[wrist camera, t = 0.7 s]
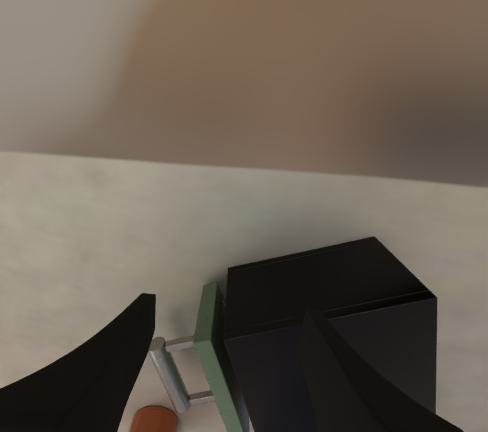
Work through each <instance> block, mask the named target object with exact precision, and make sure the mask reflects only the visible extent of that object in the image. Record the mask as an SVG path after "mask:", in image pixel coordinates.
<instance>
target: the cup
mask: <svg viewBox="0 0 488 432" xmlns="http://www.w3.org/2000/svg"><path fill="white" fill-rule="evenodd" d="M177 427H178V419H177V417H176V415H175V414H174V413H173V412H172V411H170V410H169V409H167V408H164V407H160V406H148V407H145V408H142V409H140V410H139V411H138V412H137V413H136V414H135V415H134V418H133V421H132V423H131V426H130V429H129V432H177Z"/></svg>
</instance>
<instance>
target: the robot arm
mask: <svg viewBox="0 0 488 432" xmlns="http://www.w3.org/2000/svg"><path fill="white" fill-rule="evenodd" d="M155 304H156V294H146V293H142V294H141V295H140V296H139V297H138V298H136V299H135V300H134V301H133V302H132V303H131V304H130V305H129V306H128V307H127V308H126V309H125V310H124V311H123V312H122V313H121V314H119V315H118V316H117V317H116V318H115V319H114V320H113V321H112V322H110V323H109V324H108V325H107V326H106V327H104V328H103V329H102V330H101V331H99V332H98V333H97V334H96V335H94V336H93V337H92V338H90V339H89V340H88V341H86V342H85V343H83V344H82V345H80V346H79V347H78V348H76V349H75V350H73V351H72V352H70V353H68V354H67V355H65V356H63V357H62V358H60V359H58V360H57V361H55V362H53V363H51V364H50V365H48V366H46V367H44V368H42V369H40V370H39V371H37V372H35V373H33V374H31V375H29V376H27V377H25V378H23V379H21V380H19V381H16V382H14V383H12V384H10V385H7V386H5V387H3V388H1V389H0V432H117V430H118V427H119V424H120V421H121V418H122V415H123V412H124V409H125V406H126V404H127V401H128V398H129V396H130V393H131V391H132V389H133V386H134V384H135V382H136V379H137V377H138V375H139V372H140V370H141V368H142V365H143V363H144V360H145V358H146V356H147V353H148V351H149V348H150V344H151V341H152V338H153V334H154V331H155ZM298 343H299V351H300V358H301V363H302V367H303V371H304V375H305V379H306V382H307V386H308V390H309V393H310V397H311V400H312V404H313V408H314V411H315V416H316V420H317V425H318V431H319V432H463V430H461V429H460V428H458V427H456V426H454V425H453V424H451V423H449V422H448V421H446V420H444V419H443V418H441V417H439V416H438V415H436V414H434V413H433V412H431V411H430V410H428V409H427V408H425V407H424V406H422V405H421V404H419V403H418V402H416V401H415V400H413V399H412V398H410V397H409V396H408V395H406V394H405V393H403V392H402V391H401V390H400V389H398V388H397V387H396V386H394V385H393V384H392V383H390V382H389V381H388V380H387V379H385V378H384V377H383V376H382V375H381V374H380V373H378V372H377V371H376V370H375V369H374V368H373V367H372V366H370V365H369V364H368V363H367V362H366V361H365V360H364V359H363V358H362V357H361V356H360V355H359V354H358V353H357V352H356V351H355V350H354V349H353V348H352V347H351V346H350V345H349V344H348V343H347V341H346V340H345V339H344V338H343V337H342V336H341V335H340V334H339V333H338V331H337V330H336V329H335V328H334V327H333V326H332V324H331V323H330V322H329V321H328V320H327V319H326V317H325V316H324V315H323V314H322V313H321V312H320V311H319V310H314V309H306V313H305V317H304V321H303V325H302V329H301V333H300V337H299V341H298Z"/></svg>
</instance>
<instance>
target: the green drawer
mask: <svg viewBox="0 0 488 432" xmlns="http://www.w3.org/2000/svg"><path fill="white" fill-rule="evenodd" d="M224 324H225V305H224V302H223V298H222V295H221V292H220V289H219V286H218V283H217V282H216V283H211V284H206V285H204V287H203V292H202V297H201V302H200V308H199V313H198V318H197V323H196V329H195V334H194V336H190V337H185V338H180V339H175V340H170V341H165V339H164V338H163V337H156V338H154V339H152V341H151V344H150V348H149V351H148V353H149V355H150V357H151V359H152V361H153V363H154V365H155V368H156V370H157V372H158V374H159V376H160V378H161V380H162V382H163V384H164V387H165V389H166V391H167V393H168V395H169V397H170V399H171V401H172V403H173V406H174V408H175V410H176V412H178V413H184V412H186V411H187V410H188V409H189V408H190V406H191V405H195V404H200V403H206V402H211V401H215V402H216V404H217V407H218V409H219V412H220V414H221V417H222V419H223V422H224V424H225V427H226V430H227V432H249V414H248V411H247V408H246V405H245V402H244V399H243V396H242V393H241V390H240V387H239V384H238V382H237V379H236V376H235V373H234V370H233V367H232V364H231V361H230V358H229V355H228V352H227V349H226V346H225V343H224V340H223V339H224ZM192 347H194V348H195V351H196V353H197V356H198V358H199V361H200V363H201V366H202V368H203V371H204V374H205V376H206V379H207V381H208V384H209V386H210V389H211V391H205V392H200V393H195V394H190V395H189V394H188V392H187V390H186V387H185V385H184V383H183V380H182V378H181V376H180V374H179V371H178V369H177V367H176V364H175V362H174V360H173V357H172V355H171V353H170V352H171V351H176V350H182V349H187V348H192Z"/></svg>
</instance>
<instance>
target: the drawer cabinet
mask: <svg viewBox="0 0 488 432" xmlns="http://www.w3.org/2000/svg"><path fill="white" fill-rule="evenodd" d="M306 309H314V310H319V311H320V312H321V313H322V314H323V315H324V316H325V317H326V319H327V320H328V321H329V322H330V323H331V324H332V326H333V327H334V328H335V329H336V330H337V331H338V333H339V334H340V335H341V336H342V337H343V338H344V339H345V340H346V341H347V343H348V344H349V345H350V346H351V347H352V348H353V349H354V350H355V351H356V352H357V353H358V354H359V355H360V356H361V357H362V358H363V359H364V360H365V361H366V362H367V363H368V364H369V365H370V366H372V367H373V368H374V369H375V370H376V371H377V372H378V373H380V374H381V375H382V376H383V377H384V378H385V379H387V380H388V381H389V382H390V383H392V384H393V385H394V386H396V387H397V388H398V389H400V390H401V391H402V392H403V393H405V394H406V395H408V396H409V397H410V398H412V399H413V400H415V401H416V402H418V403H419V404H421V405H422V406H424V407H425V408H427V409H428V410H430V411H431V412H433V413H434V414H436V345H437V297H436V296H435V295H434V294H433V293H432V292H431V291H429V289H428V288H427V287H426V286H425V285H423V284H422V283H421V282H420V281H419V280H418V279H417V278H416V277H415V276H414V275H413V274H412V273H411V272H410V271H409V270H408V269H407V268H406V267H405V266H404V265H403V264H402V263H401V262H400V261H399V260H398V259H397V258H396V257H395V256H394V255H393V254H392V253H391V252H390V251H389V250H388V249H387V248H386V247H385V246H384V245H383V244H382V243H380V242H379V241H378V240H377V239H376V238H375V237H370V238H366V239H361V240H356V241H352V242H347V243H342V244H338V245H333V246H328V247H324V248H319V249H314V250H310V251H305V252H300V253H296V254H291V255H286V256H282V257H277V258H272V259H268V260H263V261H258V262H254V263H249V264H245V265H240V266H235V267H231V268H228V275H227V292H226V308H225V324H224V339H223V340H224V343H225V346H226V349H227V352H228V355H229V358H230V361H231V364H232V367H233V370H234V373H235V376H236V379H237V382H238V384H239V387H240V390H241V393H242V396H243V399H244V402H245V405H246V408H247V411H248V414H249V417H250V420H251V423H252V426H253V429H254V432H319V431H318V425H317V420H316V416H315V411H314V408H313V404H312V400H311V397H310V393H309V390H308V386H307V382H306V379H305V375H304V371H303V367H302V363H301V358H300V351H299V343H298V341H299V337H300V333H301V329H302V325H303V321H304V317H305V313H306Z"/></svg>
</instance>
